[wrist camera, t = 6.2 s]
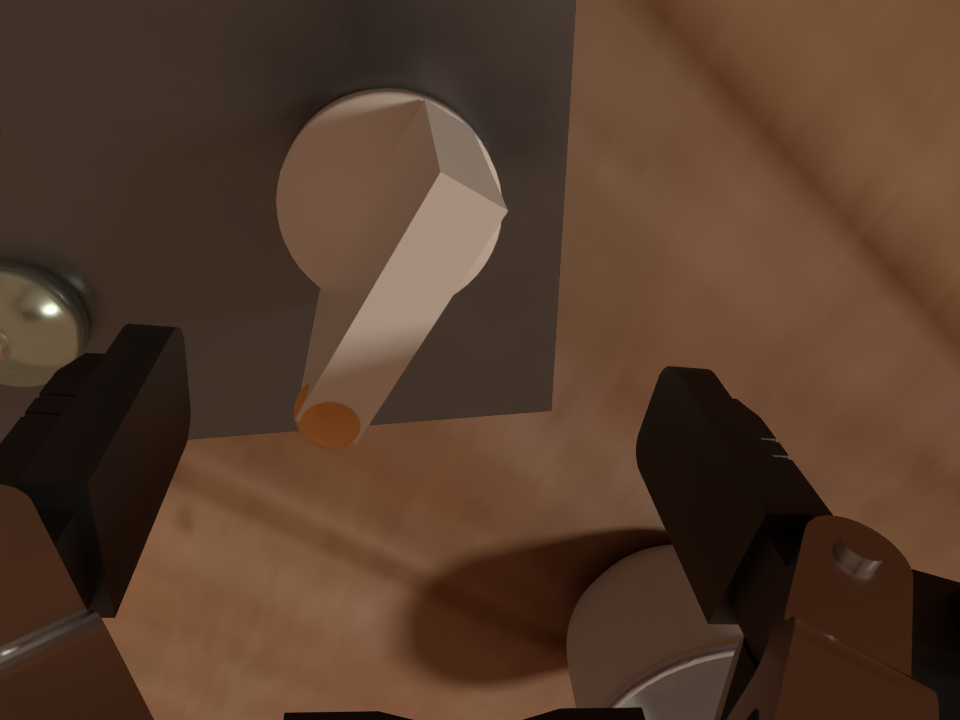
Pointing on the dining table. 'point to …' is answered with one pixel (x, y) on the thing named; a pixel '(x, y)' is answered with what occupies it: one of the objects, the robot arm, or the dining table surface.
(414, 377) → the levelling base
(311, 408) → the knob
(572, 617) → the teacup
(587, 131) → the dining table surface
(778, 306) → the dining table surface
